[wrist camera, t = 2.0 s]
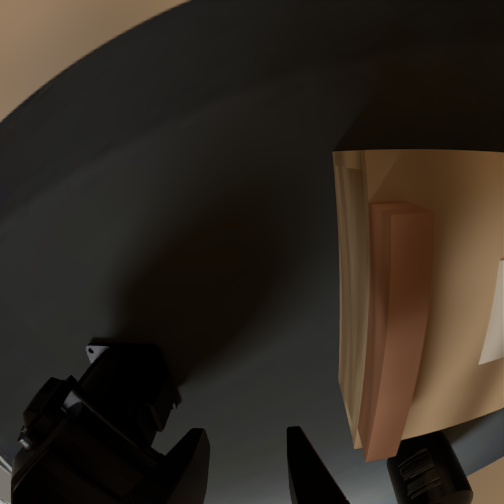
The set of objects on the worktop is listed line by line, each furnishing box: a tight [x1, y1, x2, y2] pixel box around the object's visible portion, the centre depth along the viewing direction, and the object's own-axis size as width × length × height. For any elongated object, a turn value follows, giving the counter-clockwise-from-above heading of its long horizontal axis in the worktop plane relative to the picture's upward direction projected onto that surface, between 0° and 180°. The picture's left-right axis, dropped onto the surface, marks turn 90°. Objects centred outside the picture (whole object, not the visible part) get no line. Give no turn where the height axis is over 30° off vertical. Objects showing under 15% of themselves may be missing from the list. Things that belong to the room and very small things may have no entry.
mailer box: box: [332, 150, 366, 438], centre depth 16 cm, size 18×16×6 cm
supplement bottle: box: [387, 431, 473, 504], centre depth 19 cm, size 7×7×12 cm
